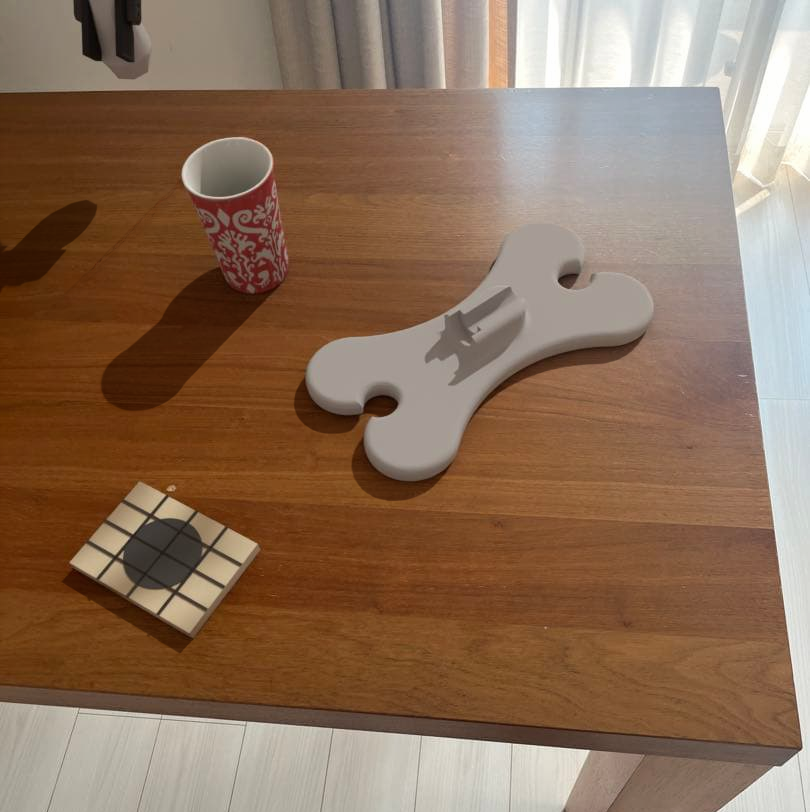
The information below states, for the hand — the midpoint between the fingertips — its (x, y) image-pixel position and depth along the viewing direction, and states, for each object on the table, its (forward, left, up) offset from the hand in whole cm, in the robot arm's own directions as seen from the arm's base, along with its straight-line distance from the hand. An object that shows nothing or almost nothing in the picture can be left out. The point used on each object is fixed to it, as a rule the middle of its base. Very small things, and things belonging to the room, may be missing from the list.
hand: (108, 58), depth 93 cm
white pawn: (-1, +4, -4) cm, 6 cm away
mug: (+19, -5, -16) cm, 25 cm away
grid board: (+34, -40, -16) cm, 55 cm away
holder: (+47, -5, -16) cm, 50 cm away
